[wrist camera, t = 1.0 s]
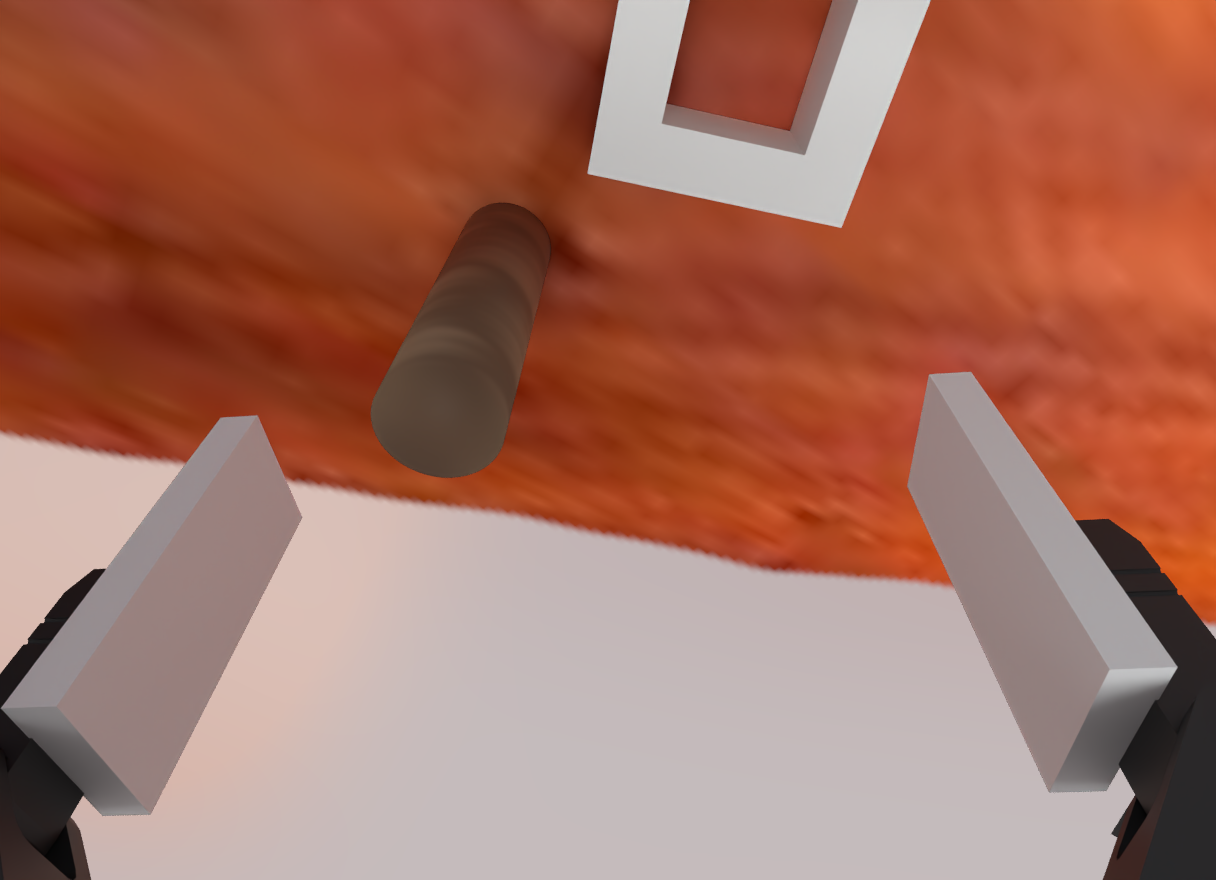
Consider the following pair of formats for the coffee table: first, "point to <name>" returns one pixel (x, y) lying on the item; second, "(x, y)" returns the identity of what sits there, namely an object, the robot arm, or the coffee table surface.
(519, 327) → the peg
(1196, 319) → the coffee table surface
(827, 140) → the station
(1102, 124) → the coffee table surface
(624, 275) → the coffee table surface
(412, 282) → the coffee table surface
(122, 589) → the robot arm
